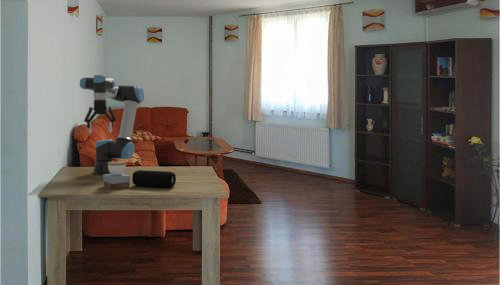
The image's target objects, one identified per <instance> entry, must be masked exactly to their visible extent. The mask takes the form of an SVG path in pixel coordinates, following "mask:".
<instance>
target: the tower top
mask: <svg viewBox="0 0 500 285" xmlns="http://www.w3.org/2000/svg"><path fill="white" fill-rule="evenodd" d="M102 179H103V180H102V181H103V182H104V181H105V182H108V183H111V184H117V183H125V182H130V183H131V174H128V173H127V174H126V173H123V174H122V175H118V176H113V175H112V174H102Z"/></svg>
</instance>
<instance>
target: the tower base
mask: <svg viewBox="0 0 500 285" xmlns="http://www.w3.org/2000/svg"><path fill="white" fill-rule="evenodd" d="M130 183H131V181H130V182H125V183H117V184H111V183H108V182H105V181H103V187H104V186H105V187H104V188H107V189H109V190H118V189H128V188H131V187H130Z"/></svg>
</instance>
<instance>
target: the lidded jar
mask: <svg viewBox="0 0 500 285" xmlns="http://www.w3.org/2000/svg"><path fill="white" fill-rule="evenodd" d="M108 170H109V172H110V173H111V174H112V175H113V176H118V175H122V174H125V170H126V161H125V160H118V159H115V161H114V160H113V161H112V162H108Z"/></svg>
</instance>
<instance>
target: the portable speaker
mask: <svg viewBox="0 0 500 285" xmlns="http://www.w3.org/2000/svg"><path fill="white" fill-rule="evenodd" d="M131 180H132V184H133V185H134V186H136V187H148V188H149V187H150V188H163V189H164V188H167V189H170V188H173V187H175V185H176V181H177V178H176V173H175V172H173V171H166V170H165V171H164V170H145V169H144V170H142V169H138V170H135V171H133V173H132V178H131Z"/></svg>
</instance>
